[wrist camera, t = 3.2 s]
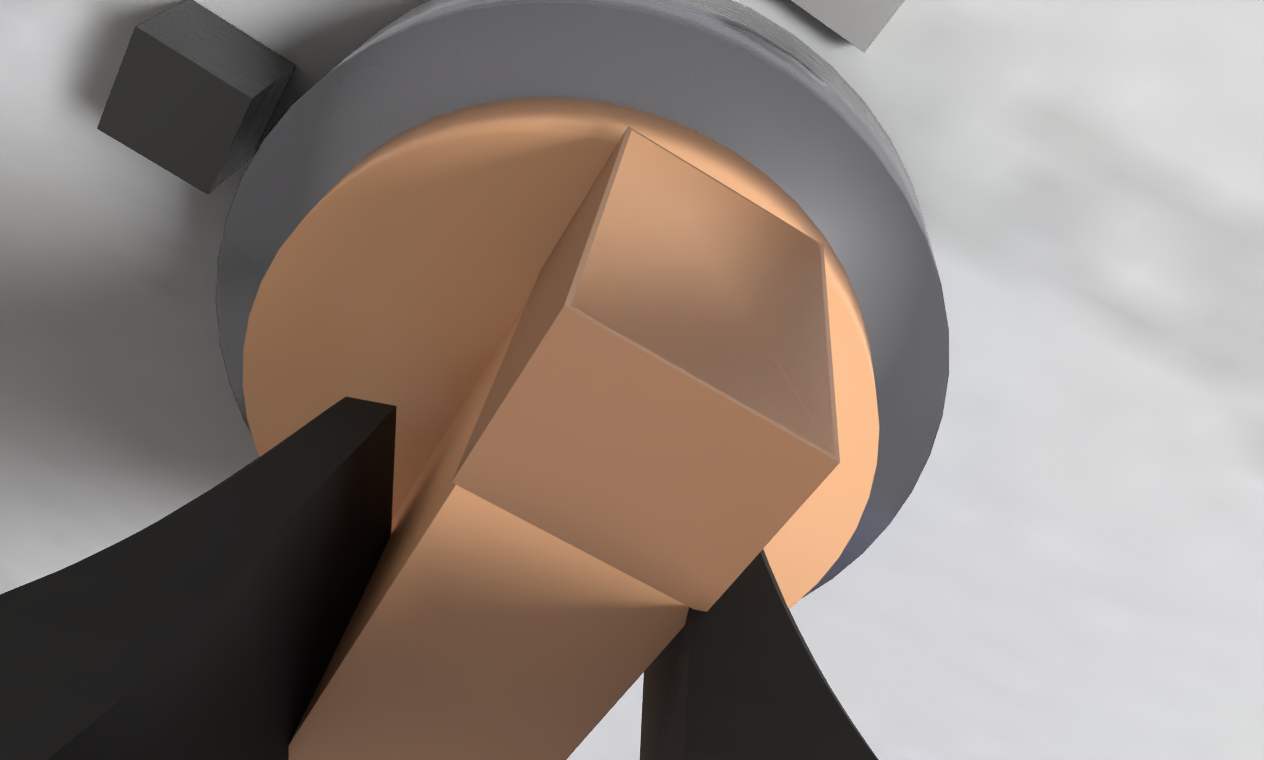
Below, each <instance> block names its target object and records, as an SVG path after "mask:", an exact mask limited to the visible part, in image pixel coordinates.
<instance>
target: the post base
mask: <svg viewBox="0 0 1264 760" xmlns="http://www.w3.org/2000/svg"><path fill="white" fill-rule="evenodd" d="M791 1H793V2H794V3H795V4H797V5H798V6H800V7H801V8H802V9H804V10H805V11H807V12H808V13H809V14H811V15H812V16H814V17H815V18H816V19H818V20H819V21H821V22H822V23H823V24H825V25H826V26H827V27H829V28H830V29H832V30H833V31H834V32H836V33H837V34H839V35H840V36H841V37H843V38H844V39H846V40H847V41H848V42H850V43H851V44H853V45H854V46H855V47H857V48H858V49H860V50H861V51H862V52H865V51H866V50H867V49H868V47H869V46H870V45H871V43H872V42H873V41H874V39H875V38H876V37H877V36H878V34H879V33H880V32H881V30H882V29H883V28H884V27H885V25H886V24H887V23H888V21H889V20H890V19H891V17H892V16H893V15H894V14H895V12H896V11H897V10H898V8H899V7H900V6H901V4H902V3H903V2H904V1H905V0H791ZM294 68H295V65H294V64H293V63H291V62H290V61H288V60H286V59H285V58H283V57H282V56H280V55H278V54H277V53H275V52H274V51H272V50H271V49H269V48H267V47H266V46H264V45H263V44H261V43H260V42H258V41H256V40H255V39H253V38H252V37H250V36H248V35H247V34H245V33H244V32H242V31H241V30H239V29H237V28H236V27H234V26H233V25H231V24H229V23H228V22H226V21H225V20H223V19H222V18H220V17H218V16H217V15H215V14H214V13H212V12H211V11H209V10H207V9H206V8H204V7H203V6H201V5H199V4H198V3H196V2H195V1H193V0H186V1H184V2H182V3H180V4H178V5H176V6H174V7H172V8H170V9H168V10H166V11H164V12H162V13H161V14H159V15H157V16H155V17H153V18H151V19H149V20H147V21H145V22H143V23H141V24H139V25H137V26H136V27H135V29H134V32H133V35H132V37H131V40H130V43H129V45H128V48H127V51H126V53H125V56H124V59H123V61H122V64H121V67H120V69H119V72H118V75H117V77H116V80H115V82H114V85H113V88H112V90H111V93H110V96H109V98H108V101H107V104H106V106H105V109H104V112H103V114H102V117H101V120H100V122H99V125H98V128H97V129H99V130H100V131H102V132H104V133H105V134H107V135H109V136H110V137H112V138H114V139H116V140H117V141H119V142H121V143H122V144H124V145H126V146H127V147H129V148H131V149H132V150H134V151H136V152H137V153H139V154H141V155H142V156H144V157H146V158H147V159H149V160H151V161H152V162H154V163H156V164H157V165H159V166H161V167H162V168H164V169H166V170H168V171H169V172H171V173H173V174H174V175H176V176H178V177H179V178H181V179H183V180H184V181H186V182H188V183H189V184H191V185H193V186H194V187H196V188H198V189H199V190H201V191H203V192H204V193H206V194H210V193H211V192H212V191H213V190H214V189H215V188H216V187H218V186H219V185H220V184H221V183H222V182H223V181H224V180H226V179H227V178H228V177H229V176H230V175H231V174H233V173H234V172H235V171H236V170H237V169H238V168H239V167H241V166H242V165H243V164H244V163H245V162H246V161H247V160H249V159H250V158H251V157H252V156H253V155H254V152H255V150H256V148H257V146H258V144H259V142H260V140H261V138H262V135H263V133H264V131H265V129H266V127H267V125H268V123H269V121H270V119H271V116H272V114H273V112H274V110H275V108H276V106H277V104H278V102H279V99H280V97H281V95H282V93H283V91H284V89H285V87H286V85H287V82H288V80H289V78H290V76H291V74H292V72H293V70H294ZM558 97H562V98H571V99H580V100H590V101H599V102H607V103H611V104H615V105H620V106H624V107H628V108H632V109H636V110H641V111H645V112H649V113H652V114H655V115H657V116H660V117H662V118H665V119H668V120H670V121H673V122H676V123H678V124H681V125H684V126H686V127H689V128H692V129H694V130H696V131H697V132H699V133H701V134H703V135H705V136H707V137H709V138H711V139H712V140H714V141H716V142H718V143H720V144H722V145H724V146H726V147H728V148H729V149H731V150H733V151H734V152H736V153H737V154H738V155H740V156H741V157H743V158H744V159H745V160H747V161H748V162H750V163H751V164H752V165H754V166H755V167H757V168H758V169H760V170H761V171H762V172H764V173H765V174H767V175H768V176H769V177H770V178H771V179H772V180H773V181H774V182H775V183H776V184H777V185H779V186H780V187H781V188H782V189H783V190H784V191H785V192H786V193H787V194H788V195H789V196H790V197H791V198H793V199H794V200H795V201H796V202H797V203H798V204H799V205H800V206H801V208H802V209H803V210H804V211H805V213H806V214H807V215H808V216H809V217H810V219H811V220H812V221H813V222H814V224H815V225H816V226H817V227H818V228H819V230H820V231H821V232H822V233H823V235H824V236H825V237H826V239H827V241H828V242H829V244H830V246H831V247H832V249H833V251H834V252H835V254H836V256H837V257H838V259H839V261H840V262H841V264H842V265H843V267H844V269H845V271H846V273H847V275H848V278H849V280H850V282H851V285H852V287H853V290H854V292H855V294H856V297H857V299H858V301H859V304H860V307H861V311H862V315H863V319H864V323H865V327H866V330H867V334H868V338H869V344H870V351H871V358H872V366H873V373H874V380H875V388H876V397H877V407H878V418H879V441H878V456H877V466H876V470H875V474H874V478H873V483H872V487H871V491H870V496H869V499H868V501H867V504H866V506H865V509H864V511H863V513H862V516H861V518H860V521H859V523H858V526H857V528H856V530H855V532H854V533H853V535H852V537H851V538H850V540H849V542H848V543H847V545H846V547H845V548H844V550H843V552H842V553H841V555H840V556H839V558H838V559H837V560H836V562H835V563H834V564H833V565H832V566H831V568H830V569H829V570H828V571H827V573H826V574H825V575H824V576H823V577H822V579H821V580H820V581H819V582H818V583H817V584H816V585H815V586H814V587H813V588H812V589H811V590H810V591H809V592H808V593H806V594H805V595H804V596H803V597H805V596H806V595H808V594H809V593H811V592H812V591H814V590H815V589H817V588H819V587H820V586H822V585H823V584H825V583H826V582H828V581H830V580H831V579H833V578H834V577H835V576H836V575H837V574H839V573H840V572H841V571H842V570H843V569H845V568H846V567H847V566H848V565H849V564H851V563H852V562H853V561H854V560H855V559H857V558H858V557H859V556H860V555H861V554H863V553H864V551H865V550H866V549H867V548H868V547H869V546H870V545H871V544H872V543H873V542H874V541H875V539H876V538H877V537H878V536H879V535H880V534H881V533H882V532H883V531H884V530H885V529H886V528H887V526H888V525H889V524H890V523H891V521H892V520H893V518H894V517H895V516H896V514H897V513H898V511H899V510H900V508H901V507H902V505H903V504H904V502H905V501H906V500H907V498H908V497H909V495H910V494H911V492H912V491H913V489H914V487H915V485H916V483H917V481H918V479H919V476H920V474H921V472H922V470H923V468H924V466H925V464H926V462H927V460H928V458H929V456H930V454H931V450H932V447H933V444H934V441H935V438H936V435H937V431H938V428H939V425H940V422H941V419H942V416H943V409H944V403H945V396H946V389H947V383H948V376H949V329H948V323H947V317H946V310H945V304H944V298H943V292H942V286H941V282H940V278H939V275H938V271H937V267H936V263H935V260H934V256H933V252H932V249H931V245H930V241H929V238H928V234H927V230H926V227H925V223H924V220H923V217H922V213H921V210H920V207H919V204H918V201H917V198H916V195H915V192H914V189H913V186H912V183H911V180H910V178H909V176H908V174H907V172H906V170H905V168H904V165H903V163H902V161H901V159H900V157H899V155H898V153H897V151H896V149H895V147H894V145H893V143H892V141H891V139H890V138H889V136H888V135H887V134H886V132H885V131H884V129H883V128H882V126H881V125H880V123H879V122H878V121H877V119H876V118H875V116H874V115H873V113H872V112H871V110H870V109H869V107H868V106H867V105H866V103H865V102H864V101H863V99H862V98H861V97H860V96H859V95H858V94H857V93H856V92H855V91H854V90H853V89H852V88H851V86H850V85H849V84H848V83H847V82H846V81H845V80H844V79H843V78H842V77H841V76H840V75H839V73H838V72H837V71H836V70H835V69H834V68H833V67H832V66H831V65H830V64H829V63H827V62H826V61H825V60H824V59H822V58H821V57H820V56H819V55H818V54H816V53H815V52H814V51H813V50H811V49H810V48H809V47H808V46H807V45H805V44H804V43H803V42H802V41H800V40H799V39H798V38H797V37H796V36H794V35H793V34H791V33H790V32H788V31H786V30H785V29H783V28H782V27H780V26H778V25H777V24H775V23H773V22H772V21H770V20H768V19H767V18H765V17H764V16H762V15H760V14H759V13H757V12H755V11H754V10H752V9H750V8H748V7H746V6H744V5H741V4H739V3H737V2H734V1H732V0H429V1H427V2H424V3H422V4H420V5H418V6H416V7H414V8H413V9H411V10H410V11H408V12H407V13H405V14H404V15H402V16H401V17H399V18H397V19H396V20H394V21H393V22H391V23H390V24H388V25H387V26H385V27H384V28H382V29H380V30H379V31H378V32H377V33H375V34H374V35H373V36H372V37H371V38H369V39H368V40H367V41H366V42H365V43H363V44H362V45H361V46H360V47H359V48H357V49H356V50H355V51H354V52H353V53H351V54H350V55H349V56H348V57H347V58H345V59H344V60H343V61H342V62H341V63H339V64H338V65H337V66H336V67H335V68H333V69H332V70H331V71H330V72H329V73H327V74H326V75H325V76H324V77H323V78H322V79H321V80H320V81H318V82H317V83H316V84H315V85H314V86H313V87H312V88H311V89H309V90H308V91H307V92H306V93H305V94H304V95H303V96H302V97H300V98H299V99H298V100H297V101H296V102H295V103H294V104H293V105H292V106H291V107H290V108H289V110H288V111H287V112H286V113H285V114H284V116H283V117H282V118H281V119H280V121H279V122H278V123H277V124H276V126H275V127H274V128H273V129H272V130H271V132H270V133H269V134H268V135H267V137H266V138H265V139H264V140H263V142H262V144H261V146H260V147H259V149H258V151H257V153H256V154H255V156H254V158H253V160H252V161H251V163H250V165H249V166H248V168H247V170H246V172H245V173H244V175H243V177H242V179H241V181H240V184H239V187H238V189H237V192H236V195H235V197H234V200H233V203H232V205H231V208H230V211H229V213H228V216H227V219H226V223H225V228H224V233H223V238H222V243H221V247H220V252H219V257H218V268H217V289H216V308H217V319H218V329H219V339H220V345H221V349H222V354H223V358H224V362H225V366H226V370H227V374H228V378H229V382H230V385H231V388H232V390H233V393H234V395H235V398H236V401H237V403H238V406H239V408H240V411H241V413H242V416H243V419H244V421H245V423H246V425H247V427H248V428H249V430H250V427H249V423H248V419H247V413H246V405H245V398H244V391H243V349H244V343H245V337H246V332H247V326H248V320H249V315H250V312H251V309H252V307H253V304H254V301H255V298H256V295H257V292H258V289H259V287H260V284H261V281H262V279H263V278H264V276H265V274H266V272H267V270H268V269H269V267H270V265H271V263H272V261H273V260H274V258H275V256H276V254H277V252H278V250H279V249H280V248H281V246H282V245H283V244H284V243H285V241H286V240H287V239H288V238H289V236H290V235H291V234H292V233H293V231H294V230H295V229H296V228H297V226H298V225H299V224H300V222H301V221H302V220H303V219H304V218H305V217H306V216H307V214H308V213H309V212H310V211H311V210H312V209H313V208H314V207H315V206H316V205H317V204H318V202H319V201H320V200H321V199H322V198H323V197H324V196H325V195H326V194H327V193H328V191H329V190H330V189H331V188H332V187H333V186H334V185H335V184H336V183H337V182H338V181H339V180H340V179H341V178H342V177H343V176H344V175H345V174H346V173H347V172H349V171H350V170H351V169H352V168H353V167H354V166H355V165H356V164H357V163H358V162H359V161H361V160H362V159H363V158H364V157H365V156H366V155H368V154H369V153H371V152H372V151H374V150H375V149H377V148H378V147H380V146H381V145H383V144H384V143H386V142H387V141H389V140H390V139H392V138H393V137H395V136H396V135H398V134H400V133H402V132H404V131H406V130H408V129H411V128H413V127H415V126H417V125H419V124H421V123H423V122H426V121H428V120H430V119H432V118H434V117H437V116H441V115H444V114H447V113H450V112H454V111H457V110H460V109H464V108H467V107H470V106H473V105H479V104H485V103H492V102H498V101H504V100H510V99H517V98H558ZM250 432H251V430H250ZM803 597H802V598H803Z"/></svg>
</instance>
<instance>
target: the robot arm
mask: <svg viewBox="0 0 1264 760" xmlns="http://www.w3.org/2000/svg"><path fill="white" fill-rule="evenodd" d="M396 408H397V406H394V405H389V404H383V403H378V402H373V401H368V400H362V399H357V398H352V397H344V398H343V399H341V400H340V401H338V402H337V403H335V404H334V405H332V406H331V407H330V408H328V409H327V410H325V411H324V412H322V413H321V414H319V415H318V416H317V417H315V418H314V419H312V420H311V421H310V422H308V423H307V424H305V425H304V426H303V427H301V428H300V429H298V430H297V431H296V432H294V433H293V434H292V435H290V436H289V437H287V438H286V439H284V440H283V441H282V442H280V443H279V444H277V445H276V446H275V447H273V448H272V449H270V450H269V451H267V452H266V453H265V454H263V455H262V456H260V457H259V458H257V459H256V460H254V461H253V462H251V463H250V464H248V465H247V466H245V467H244V468H242V469H241V470H239V471H238V472H236V473H235V474H233V475H232V476H230V477H229V478H227V479H226V480H224V481H223V482H222V483H220V484H218V485H217V486H215V487H214V488H212V489H211V490H209V491H207V492H206V493H204V494H203V495H201V496H199V497H198V498H196V499H194V500H193V501H191V502H189V503H188V504H186V505H184V506H183V507H181V508H179V509H178V510H176V511H174V512H173V513H171V514H169V515H168V516H166V517H164V518H163V519H161V520H159V521H158V522H156V523H154V524H152V525H150V526H149V527H147V528H145V529H143V530H141V531H139V532H137V533H136V534H134V535H132V536H130V537H128V538H126V539H124V540H122V541H120V542H118V543H116V544H114V545H112V546H110V547H108V548H106V549H104V550H102V551H100V552H98V553H96V554H94V555H92V556H90V557H87V558H85V559H83V560H81V561H79V562H77V563H75V564H73V565H71V566H68V567H66V568H64V569H62V570H60V571H57V572H55V573H52V574H50V575H47V576H45V577H42V578H40V579H38V580H35V581H33V582H30V583H28V584H25V585H23V586H20V587H18V588H15V589H13V590H10V591H8V592H6V593H3V594H1V595H0V760H288V759H289V753H288V746H289V744H290V742H291V740H292V737H293V735H294V733H295V731H296V729H297V727H298V725H299V723H300V721H301V719H302V717H303V715H304V713H305V711H306V709H307V707H308V705H309V703H310V701H311V699H312V697H313V695H314V693H315V691H316V689H317V687H318V685H319V683H320V681H321V679H322V677H323V675H324V673H325V671H326V669H327V667H328V665H329V663H330V661H331V658H332V656H333V654H334V652H335V650H336V648H337V646H338V644H339V642H340V640H341V638H342V636H343V634H344V632H345V630H346V628H347V626H348V624H349V622H350V620H351V618H352V616H353V614H354V612H355V610H356V608H357V606H358V604H359V602H360V600H361V598H362V596H363V594H364V592H365V590H366V587H367V585H368V583H369V581H370V579H371V577H372V575H373V572H374V570H375V568H376V566H377V564H378V562H379V560H380V557H381V555H382V553H383V551H384V549H385V547H386V544H387V542H388V540H389V538H390V536H391V528H392V504H393V480H394V456H395V432H396ZM640 760H878V759H877V757H876V756H875V754H874V753H873V752H872V750H871V749H870V747H869V746H868V744H867V743H866V741H865V740H864V738H863V737H862V736H861V734H860V733H859V731H858V730H857V728H856V727H855V725H854V724H853V723H852V721H851V719H850V718H849V716H848V715H847V713H846V712H845V710H844V708H843V707H842V705H841V704H840V702H839V701H838V699H837V697H836V696H835V694H834V693H833V691H832V689H831V688H830V686H829V684H828V683H827V681H826V679H825V677H824V676H823V674H822V672H821V670H820V669H819V667H818V665H817V663H816V661H815V660H814V658H813V656H812V654H811V652H810V650H809V648H808V646H807V644H806V643H805V641H804V639H803V637H802V635H801V633H800V631H799V629H798V627H797V625H796V623H795V621H794V619H793V617H792V615H791V612H790V610H789V608H788V606H787V604H786V602H785V599H784V597H783V595H782V592H781V590H780V588H779V586H778V583H777V581H776V579H775V576H774V574H773V572H772V569H771V567H770V565H769V562H768V559H767V557H766V554H765V552H764V549H763V550H762V551H761V552H760V553H759V554H758V555H757V556H756V557H755V558H754V560H753V561H752V562H751V563H750V564H749V565H748V566H747V567H746V569H745V570H744V571H743V572H742V573H741V574H740V575H739V576H738V578H737V579H736V580H735V581H734V582H733V583H732V584H731V585H730V587H729V588H728V589H727V590H726V591H725V592H724V593H723V594H722V595H721V597H720V598H719V599H718V600H717V601H716V602H715V603H714V604H713V606H712V607H711V608H710V609H709V610H708V611H707V612H705V611H700V610H695V609H692V608H690V607H689V610H688V614H687V618H686V622H685V626H684V627H683V628H682V629H681V630H680V631H679V632H678V634H677V635H676V636H675V637H674V638H673V639H672V640H671V641H670V643H669V644H668V645H667V646H666V647H665V648H664V649H663V651H662V652H661V653H660V654H659V655H658V656H657V657H656V658H655V660H654V661H653V662H652V663H651V664H650V665H649V666H648V667H647V669H646V670H645V671H644V683H643V703H642V724H641V746H640Z"/></svg>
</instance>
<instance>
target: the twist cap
mask: <svg viewBox="0 0 1264 760" xmlns="http://www.w3.org/2000/svg"><path fill="white" fill-rule="evenodd" d="M243 391H244V398H245V405H246V413H247V419H248V423H249V427H250V430H251V434H252V437H253V441H254V444H255V448H256V451H257V454H258V456H259V457H260V456H262V455H263V454H265V453H266V452H267V451H269V450H270V449H272V448H273V447H275V446H276V445H277V444H279V443H280V442H282V441H283V440H284V439H286V438H287V437H289V436H290V435H292V434H293V433H294V432H296V431H297V430H298V429H300V428H301V427H303V426H304V425H305V424H307V423H308V422H310V421H311V420H312V419H314V418H315V417H317V416H318V415H319V414H321V413H322V412H324V411H325V410H327V409H328V408H330V407H331V406H332V405H334V404H335V403H337V402H338V401H340V400H341V399H343V398H344V397H352V398H357V399H362V400H368V401H373V402H378V403H383V404H389V405H394V406H397V408H396V432H395V456H394V480H393V504H392V528H391V536H390V538H389V540H388V542H387V544H386V547H385V549H384V551H383V553H382V555H381V557H380V560H379V562H378V564H377V566H376V568H375V570H374V572H373V575H372V577H371V579H370V581H369V583H368V585H367V587H366V590H365V592H364V594H363V596H362V598H361V600H360V602H359V604H358V606H357V608H356V610H355V612H354V614H353V616H352V618H351V620H350V622H349V624H348V626H347V628H346V630H345V632H344V634H343V636H342V638H341V640H340V642H339V644H338V646H337V648H336V650H335V652H334V654H333V656H332V658H331V661H330V663H329V665H328V667H327V669H326V671H325V673H324V675H323V677H322V679H321V681H320V683H319V685H318V687H317V689H316V691H315V693H314V695H313V697H312V699H311V701H310V703H309V705H308V707H307V709H306V711H305V713H304V715H303V717H302V719H301V721H300V723H299V725H298V727H297V729H296V731H295V733H294V735H293V737H292V740H291V742H290V744H289V746H288V753H289V759H288V760H566V759H567V758H568V757H569V756H570V755H571V753H572V752H573V751H574V750H575V749H576V748H577V747H578V746H579V744H580V743H581V742H582V741H583V740H584V739H585V738H586V736H587V735H588V734H589V733H590V732H591V731H592V730H593V729H594V727H595V726H596V725H597V724H598V723H599V722H600V721H601V720H602V718H603V717H604V716H605V715H606V714H607V713H608V712H609V710H610V709H611V708H612V707H613V706H614V705H615V704H616V703H617V701H618V700H619V699H620V698H621V697H622V696H623V695H624V694H625V692H626V691H627V690H628V689H629V688H630V687H631V686H632V684H633V683H634V682H635V681H636V680H637V679H638V678H639V677H640V675H641V674H642V673H643V672H644V671H645V670H646V669H647V667H648V666H649V665H650V664H651V663H652V662H653V661H654V660H655V658H656V657H657V656H658V655H659V654H660V653H661V652H662V651H663V649H664V648H665V647H666V646H667V645H668V644H669V643H670V641H671V640H672V639H673V638H674V637H675V636H676V635H677V634H678V632H679V631H680V630H681V629H682V628H683V627H684V626H685V622H686V618H687V614H688V610H689V607H690V608H692V609H695V610H700V611H705V612H707V611H708V610H709V609H710V608H711V607H712V606H713V604H714V603H715V602H716V601H717V600H718V599H719V598H720V597H721V595H722V594H723V593H724V592H725V591H726V590H727V589H728V588H729V587H730V585H731V584H732V583H733V582H734V581H735V580H736V579H737V578H738V576H739V575H740V574H741V573H742V572H743V571H744V570H745V569H746V567H747V566H748V565H749V564H750V563H751V562H752V561H753V560H754V558H755V557H756V556H757V555H758V554H759V553H760V552H761V551H762V550H763V549H764V552H765V554H766V557H767V559H768V562H769V565H770V567H771V569H772V572H773V574H774V576H775V579H776V581H777V583H778V586H779V588H780V590H781V592H782V595H783V597H784V599H785V602H786V604H787V606H788V608H791V607H792V606H793V605H794V604H796V603H797V602H798V601H799V600H800V599H801V598H802V597H803V596H804V595H805V594H806V593H808V592H809V591H810V590H811V589H812V588H813V587H814V586H815V585H816V584H817V583H818V582H819V581H820V580H821V579H822V577H823V576H824V575H825V574H826V573H827V571H828V570H829V569H830V568H831V566H832V565H833V564H834V563H835V562H836V560H837V559H838V558H839V556H840V555H841V553H842V552H843V550H844V548H845V547H846V545H847V543H848V542H849V540H850V538H851V537H852V535H853V533H854V532H855V530H856V528H857V526H858V523H859V521H860V518H861V516H862V513H863V511H864V509H865V506H866V504H867V501H868V499H869V496H870V491H871V487H872V483H873V478H874V474H875V470H876V466H877V456H878V441H879V418H878V407H877V397H876V388H875V380H874V373H873V366H872V358H871V351H870V344H869V338H868V334H867V330H866V327H865V323H864V319H863V315H862V311H861V307H860V304H859V301H858V299H857V297H856V294H855V292H854V290H853V287H852V285H851V282H850V280H849V278H848V275H847V273H846V271H845V269H844V267H843V265H842V264H841V262H840V261H839V259H838V257H837V256H836V254H835V252H834V251H833V249H832V247H831V246H830V244H829V242H828V241H827V239H826V237H825V236H824V235H823V233H822V232H821V231H820V230H819V228H818V227H817V226H816V225H815V224H814V222H813V221H812V220H811V219H810V217H809V216H808V215H807V214H806V213H805V211H804V210H803V209H802V208H801V206H800V205H799V204H798V203H797V202H796V201H795V200H794V199H793V198H791V197H790V196H789V195H788V194H787V193H786V192H785V191H784V190H783V189H782V188H781V187H780V186H779V185H777V184H776V183H775V182H774V181H773V180H772V179H771V178H770V177H769V176H768V175H767V174H765V173H764V172H762V171H761V170H760V169H758V168H757V167H755V166H754V165H752V164H751V163H750V162H748V161H747V160H745V159H744V158H743V157H741V156H740V155H738V154H737V153H736V152H734V151H733V150H731V149H729V148H728V147H726V146H724V145H722V144H720V143H718V142H716V141H714V140H712V139H711V138H709V137H707V136H705V135H703V134H701V133H699V132H697V131H696V130H694V129H692V128H689V127H686V126H684V125H681V124H678V123H676V122H673V121H670V120H668V119H665V118H662V117H660V116H657V115H655V114H652V113H649V112H645V111H641V110H636V109H632V108H628V107H624V106H620V105H615V104H611V103H607V102H599V101H590V100H580V99H571V98H562V97H558V98H517V99H510V100H504V101H498V102H492V103H485V104H479V105H473V106H470V107H467V108H464V109H460V110H457V111H454V112H450V113H447V114H444V115H441V116H437V117H434V118H432V119H430V120H428V121H426V122H423V123H421V124H419V125H417V126H415V127H413V128H411V129H408V130H406V131H404V132H402V133H400V134H398V135H396V136H395V137H393V138H392V139H390V140H389V141H387V142H386V143H384V144H383V145H381V146H380V147H378V148H377V149H375V150H374V151H372V152H371V153H369V154H368V155H366V156H365V157H364V158H363V159H362V160H361V161H359V162H358V163H357V164H356V165H355V166H354V167H353V168H352V169H351V170H350V171H349V172H347V173H346V174H345V175H344V176H343V177H342V178H341V179H340V180H339V181H338V182H337V183H336V184H335V185H334V186H333V187H332V188H331V189H330V190H329V191H328V193H327V194H326V195H325V196H324V197H323V198H322V199H321V200H320V201H319V202H318V204H317V205H316V206H315V207H314V208H313V209H312V210H311V211H310V212H309V213H308V214H307V216H306V217H305V218H304V219H303V220H302V221H301V222H300V224H299V225H298V226H297V228H296V229H295V230H294V231H293V233H292V234H291V235H290V236H289V238H288V239H287V240H286V241H285V243H284V244H283V245H282V246H281V248H280V249H279V250H278V252H277V254H276V256H275V258H274V260H273V261H272V263H271V265H270V267H269V269H268V270H267V272H266V274H265V276H264V278H263V279H262V281H261V284H260V287H259V289H258V292H257V295H256V298H255V301H254V304H253V307H252V309H251V312H250V315H249V320H248V326H247V332H246V337H245V343H244V349H243Z"/></svg>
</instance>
